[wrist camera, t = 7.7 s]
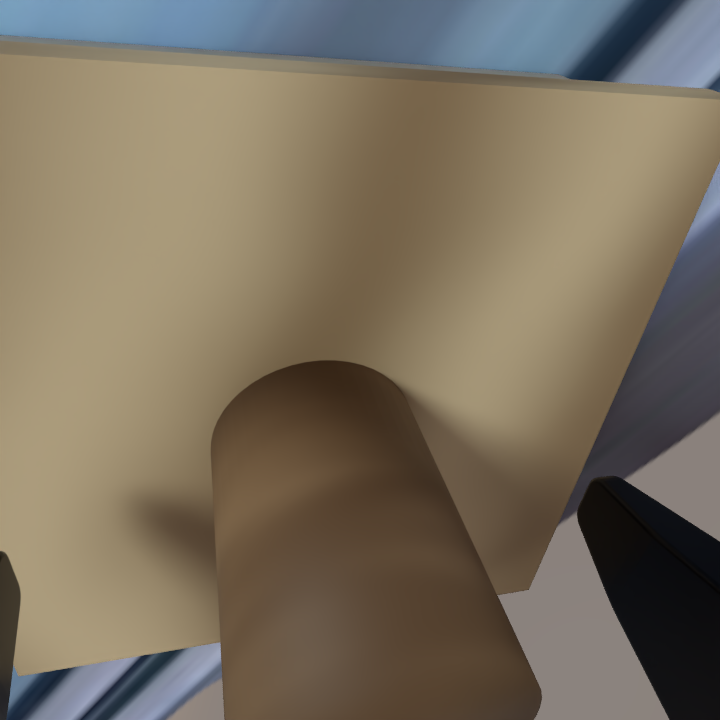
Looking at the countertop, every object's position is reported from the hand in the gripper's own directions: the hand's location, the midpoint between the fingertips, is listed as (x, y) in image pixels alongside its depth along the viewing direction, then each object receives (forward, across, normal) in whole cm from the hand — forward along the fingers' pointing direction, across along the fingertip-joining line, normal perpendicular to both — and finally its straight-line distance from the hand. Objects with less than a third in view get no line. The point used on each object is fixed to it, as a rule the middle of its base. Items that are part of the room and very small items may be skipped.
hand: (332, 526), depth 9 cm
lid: (+3, 0, 0) cm, 3 cm away
